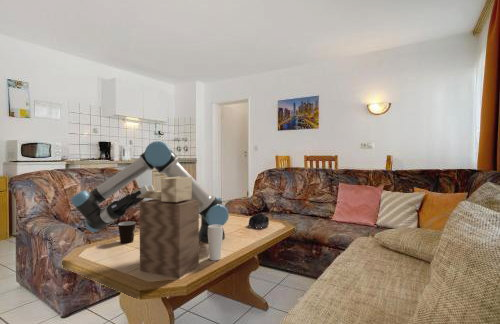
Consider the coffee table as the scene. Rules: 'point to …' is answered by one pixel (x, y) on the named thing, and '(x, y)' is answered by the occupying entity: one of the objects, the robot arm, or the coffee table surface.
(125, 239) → the coffee mug
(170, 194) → the stepped beige block
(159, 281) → the coffee table surface
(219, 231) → the drinking glass
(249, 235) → the coffee table surface
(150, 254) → the stand
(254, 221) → the black rounded lump
